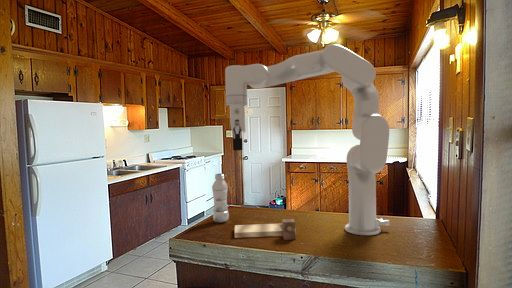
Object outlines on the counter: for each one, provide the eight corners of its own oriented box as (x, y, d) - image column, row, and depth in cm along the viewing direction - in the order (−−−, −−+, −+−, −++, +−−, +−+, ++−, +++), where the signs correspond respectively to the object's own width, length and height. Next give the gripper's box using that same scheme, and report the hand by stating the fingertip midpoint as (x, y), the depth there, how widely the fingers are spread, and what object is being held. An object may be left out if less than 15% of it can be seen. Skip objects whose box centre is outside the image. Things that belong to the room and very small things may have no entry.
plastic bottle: (232, 221, 137) (231, 173, 136) (220, 225, 132) (218, 175, 131) (222, 218, 141) (220, 172, 140) (209, 222, 136) (208, 174, 135)
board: (292, 227, 126) (292, 223, 126) (296, 235, 117) (296, 230, 117) (235, 229, 125) (234, 225, 125) (234, 237, 116) (234, 232, 116)
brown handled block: (290, 228, 125) (289, 212, 125) (295, 240, 112) (295, 222, 112) (279, 228, 125) (279, 213, 125) (284, 240, 112) (283, 223, 112)
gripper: (247, 98, 108) (249, 150, 109) (246, 103, 125) (247, 147, 126) (224, 99, 108) (226, 151, 108) (227, 103, 125) (228, 148, 126)
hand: (237, 149), depth 117 cm, fingers open, 9 cm apart
